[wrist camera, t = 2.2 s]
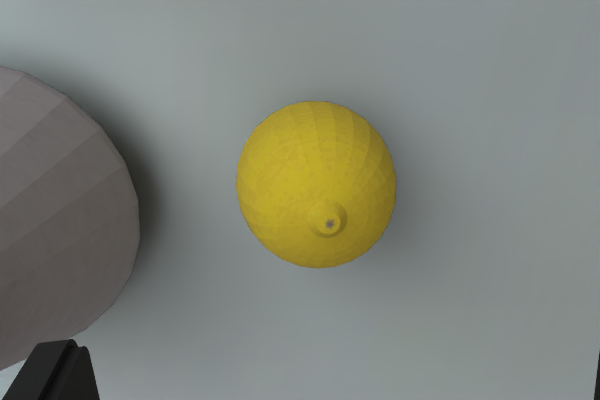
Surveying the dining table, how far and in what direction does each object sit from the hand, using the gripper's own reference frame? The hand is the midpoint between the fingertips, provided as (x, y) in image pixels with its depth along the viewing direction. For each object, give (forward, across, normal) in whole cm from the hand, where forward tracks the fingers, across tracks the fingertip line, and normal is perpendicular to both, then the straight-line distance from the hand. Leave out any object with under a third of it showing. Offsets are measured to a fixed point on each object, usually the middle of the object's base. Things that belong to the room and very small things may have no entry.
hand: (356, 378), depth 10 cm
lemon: (+15, -1, 0) cm, 15 cm away
